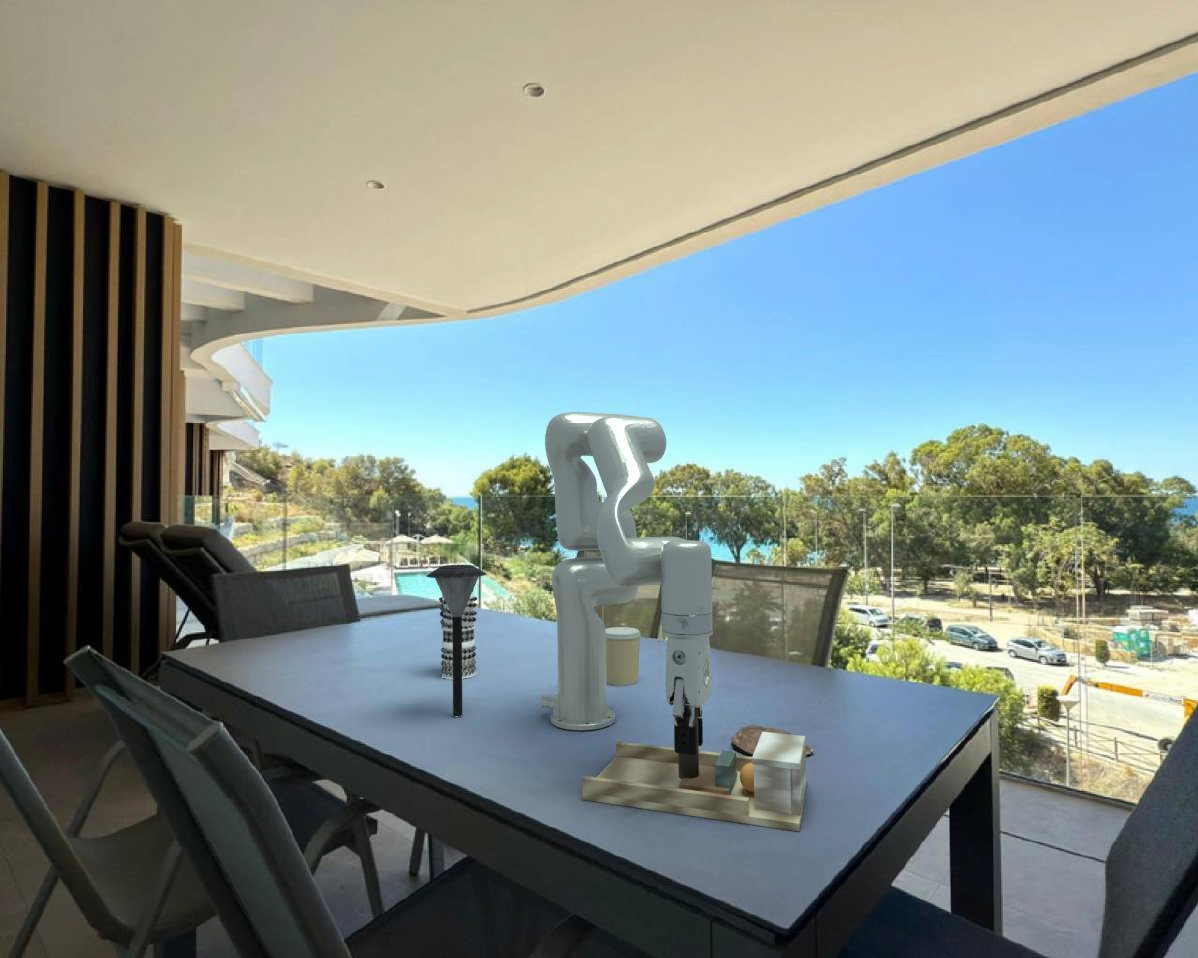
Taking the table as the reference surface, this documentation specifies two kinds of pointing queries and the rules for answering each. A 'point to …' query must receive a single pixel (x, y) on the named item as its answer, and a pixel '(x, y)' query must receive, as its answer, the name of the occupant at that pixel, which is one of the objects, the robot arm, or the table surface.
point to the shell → (755, 739)
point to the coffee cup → (622, 655)
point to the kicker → (707, 770)
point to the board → (655, 785)
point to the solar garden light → (457, 614)
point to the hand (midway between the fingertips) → (688, 747)
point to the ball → (747, 777)
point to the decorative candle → (467, 639)
